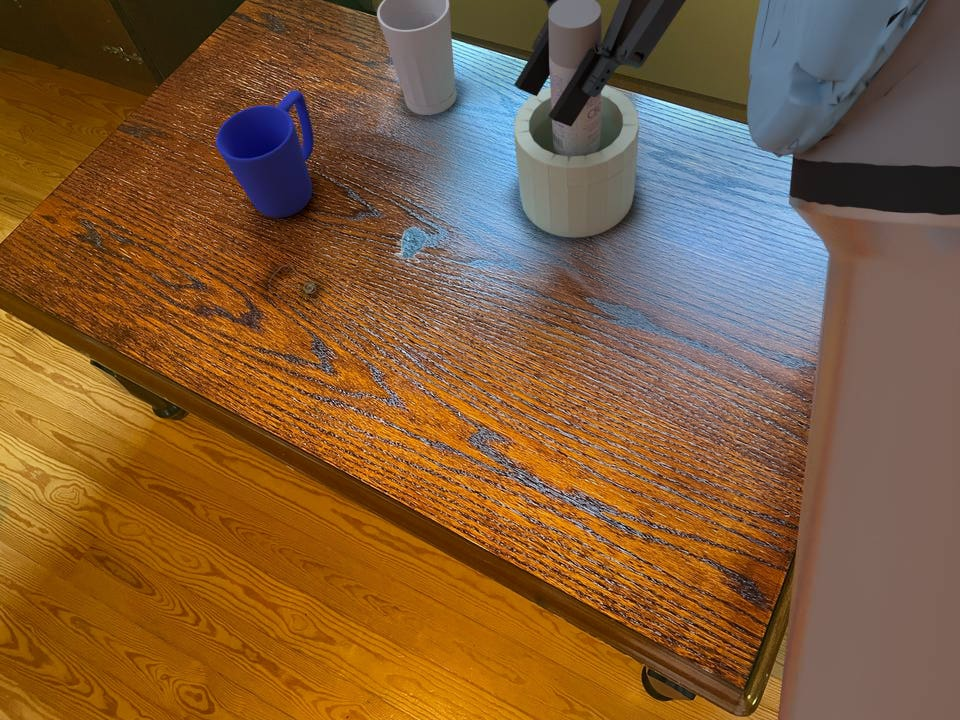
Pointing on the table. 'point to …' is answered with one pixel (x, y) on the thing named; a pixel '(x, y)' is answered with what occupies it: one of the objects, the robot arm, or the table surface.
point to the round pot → (577, 168)
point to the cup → (421, 51)
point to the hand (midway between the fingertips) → (542, 105)
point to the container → (568, 46)
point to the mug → (270, 155)
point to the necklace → (304, 285)
